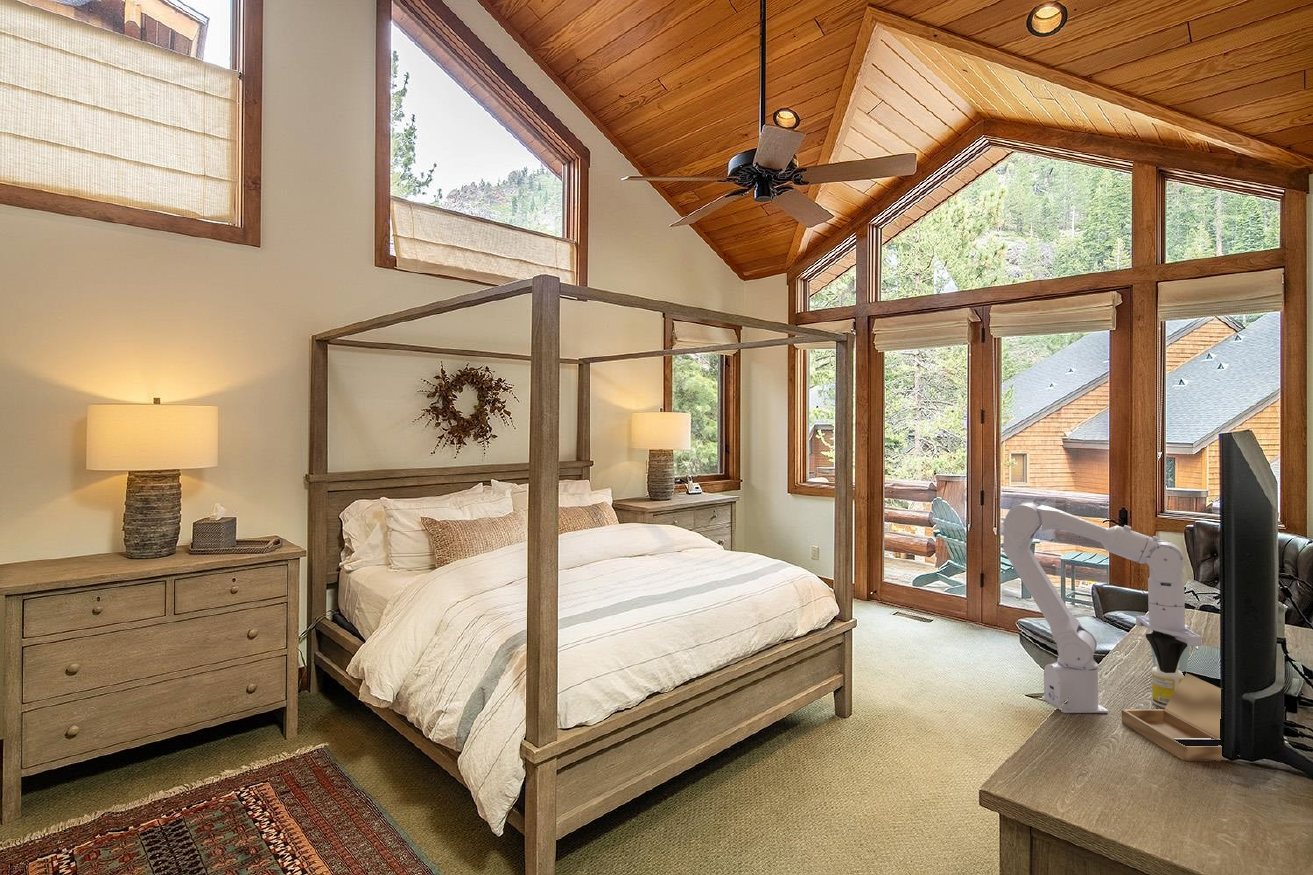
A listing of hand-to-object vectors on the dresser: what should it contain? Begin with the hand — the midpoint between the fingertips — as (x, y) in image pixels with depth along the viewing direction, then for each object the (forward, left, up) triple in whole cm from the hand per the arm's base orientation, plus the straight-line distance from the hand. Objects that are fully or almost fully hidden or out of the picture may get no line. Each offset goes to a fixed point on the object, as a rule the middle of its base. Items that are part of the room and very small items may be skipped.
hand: (1167, 671), depth 131 cm
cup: (+18, +23, -11) cm, 31 cm away
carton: (-4, -7, -10) cm, 13 cm away
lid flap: (+2, -7, -4) cm, 8 cm away
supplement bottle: (+7, +9, -11) cm, 16 cm away
